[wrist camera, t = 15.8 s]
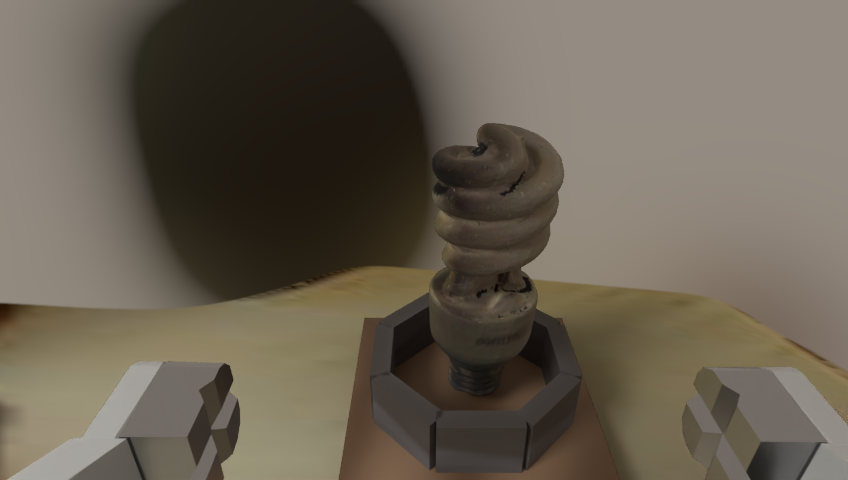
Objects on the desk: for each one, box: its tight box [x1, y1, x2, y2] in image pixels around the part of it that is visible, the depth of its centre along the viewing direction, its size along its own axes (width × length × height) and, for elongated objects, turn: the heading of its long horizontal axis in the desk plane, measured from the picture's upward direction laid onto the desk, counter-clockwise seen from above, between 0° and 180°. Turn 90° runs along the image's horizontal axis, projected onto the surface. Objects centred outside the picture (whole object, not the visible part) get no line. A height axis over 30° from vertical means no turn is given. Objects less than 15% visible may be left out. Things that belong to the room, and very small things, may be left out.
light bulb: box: [429, 123, 564, 396], centre depth 26 cm, size 6×6×15 cm
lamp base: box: [339, 293, 620, 480], centre depth 29 cm, size 13×13×4 cm
